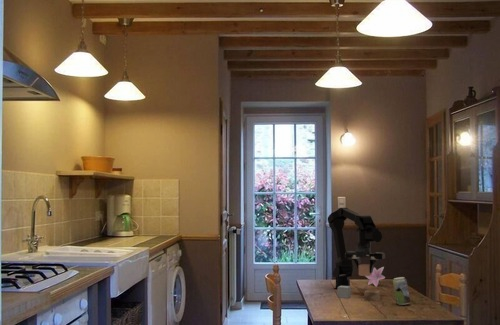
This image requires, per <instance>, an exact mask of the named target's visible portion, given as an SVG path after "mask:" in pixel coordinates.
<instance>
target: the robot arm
mask: <svg viewBox="0 0 500 325" xmlns="http://www.w3.org/2000/svg"><path fill="white" fill-rule="evenodd" d="M347 219H349V221H351V222H352V221H353V222H354V225H356V226H357V227H358V228H356V232H358V243H357V247H356V249H355V251H352V250H351V251H347V248H346V243H345V237H344V231H343V229H344V226H345V221H347ZM327 223H328V226H329V228H330V229H331V231H332V232H333V236H334V237H333V238H334V244H335V250H336V256H337V259H336V261H335V268H334V269H333V271H332V277H334V278H335V287H334V289H335V290H338V287H339V286H351V280H350V278H351V277H352V275H353V271H354V265H353V261H354V263H355V265H356V268H357V271H358V272H359V265H361V264H362V262H361V258H370V259H369V265H370V273H371V272H372V273H373V269H374V268H375V264H376V263H377V261H379V260H384V259H386V253H384V252H380V251H379V252H377V251H376V252H374V253H372V251H371V247H372V246H371V245H372V243H380V242H381V241H382V239H383V235H382V232H381V231H380V230H379V227H377V226H376V224H375V222H374V220H373V218H372V215H369V214H368V215H367V214H361V213H358V212H356V211H354V210H352V209H349V208H348V207H339V208H338V209H337V210H335V211H333V212H331V213H330V214H329V215H328V217H327Z"/></svg>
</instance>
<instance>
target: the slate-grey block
mask: <svg viewBox="0 0 500 325" xmlns="http://www.w3.org/2000/svg"><path fill="white" fill-rule="evenodd" d="M351 297H352V286H351V285H350V286H339V287H338V289H337V298H339V299H349V298H351Z"/></svg>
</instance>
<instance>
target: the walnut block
mask: <svg viewBox="0 0 500 325" xmlns="http://www.w3.org/2000/svg"><path fill="white" fill-rule="evenodd" d="M380 300H381V290H374V289H373V290H372V289H371V290H370V289H367V290H365V291H364V301H366V302H367V301H368V302H378V301H380Z"/></svg>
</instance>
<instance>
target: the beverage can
mask: <svg viewBox="0 0 500 325" xmlns="http://www.w3.org/2000/svg"><path fill="white" fill-rule="evenodd" d="M392 285H393V291H394V298H395V302H396V304H397V305H399V306H404V305H405V306H406V305H408V304H410V303H411V297H410V293H409V287H408V282H407V279H406V278H405V277H404V276H399V277H394V278H393V280H392Z"/></svg>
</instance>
